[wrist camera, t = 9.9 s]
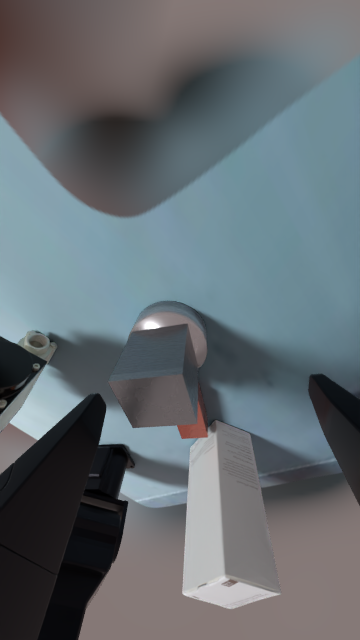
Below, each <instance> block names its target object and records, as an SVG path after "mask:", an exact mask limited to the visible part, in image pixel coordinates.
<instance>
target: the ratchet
mask: <svg viewBox="0 0 360 640" xmlns="http://www.w3.org/2000/svg"><path fill="white" fill-rule="evenodd" d="M186 323H188V327H189V331H190V335H191V339H192V343H193V347H194V351H195V355H196V359H197V363H198V369H199V368H200V367H201V366H202V364H203V363H204V361H205V359H206V355H207V332H206V326H205V323H204V321H203V319H202V318H201V316H200V315H199V314H198V313H197V312H196V311H195V310H194V309H192V308H191V307H189V306H187V305H185V304H183V303H179V302H175V301H161V302H157V303H154V304H152V305H150V306H148V307H147V308H145V309H144V310H143V311H142V312H141V313H140V315H139V316H138V318H137V320H136V322H135V324H134V326H133V328H132V330H131V332H130V334H129V337H130V335H131V333H132V331H139V330H146V329H153V328H159V327H166V326H173V325H180V324H186ZM128 339H129V338H128ZM177 427H178V429H179V432H180V435H181V438H182V439H185V438H208V417H207V413H206V409H205V405H204V401H203V397H202V393H201V389H200V385H199V382H198V415H197V424H190V425H177Z"/></svg>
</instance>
